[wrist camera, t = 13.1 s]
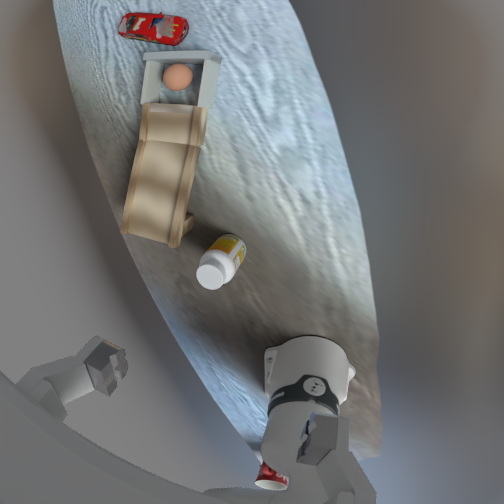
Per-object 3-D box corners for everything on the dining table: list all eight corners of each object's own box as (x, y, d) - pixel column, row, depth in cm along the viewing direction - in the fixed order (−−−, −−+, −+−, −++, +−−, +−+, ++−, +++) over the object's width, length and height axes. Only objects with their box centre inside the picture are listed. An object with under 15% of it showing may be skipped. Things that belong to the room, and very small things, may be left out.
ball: (181, 84, 34) (192, 95, 38) (189, 58, 33) (199, 70, 38) (154, 84, 35) (167, 94, 39) (162, 59, 34) (174, 70, 38)
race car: (196, 21, 34) (185, 14, 30) (183, 50, 36) (170, 45, 33) (134, 12, 34) (121, 7, 31) (123, 38, 37) (109, 34, 33)
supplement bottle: (209, 244, 49) (183, 271, 41) (232, 227, 47) (210, 252, 38) (229, 268, 50) (208, 300, 42) (253, 253, 48) (235, 283, 39)
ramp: (196, 230, 49) (173, 252, 41) (148, 219, 50) (120, 236, 42) (211, 107, 39) (185, 104, 32) (156, 103, 41) (124, 102, 33)
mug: (297, 455, 73) (289, 491, 61) (269, 453, 76) (259, 488, 64) (290, 436, 68) (280, 477, 57) (259, 435, 71) (247, 474, 60)
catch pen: (213, 108, 39) (199, 107, 35) (154, 104, 41) (136, 104, 37) (221, 57, 36) (208, 50, 31) (161, 57, 37) (143, 52, 33)
